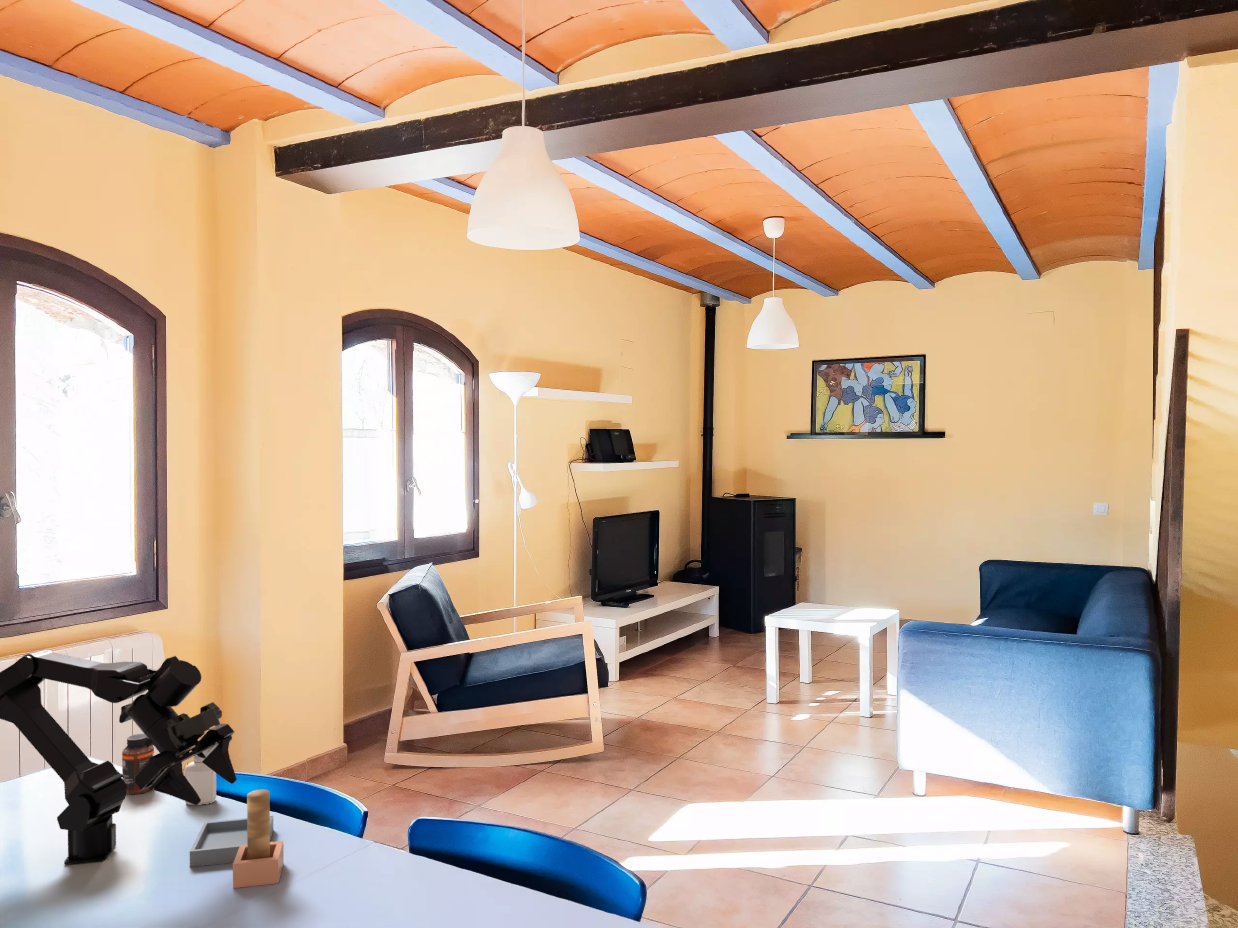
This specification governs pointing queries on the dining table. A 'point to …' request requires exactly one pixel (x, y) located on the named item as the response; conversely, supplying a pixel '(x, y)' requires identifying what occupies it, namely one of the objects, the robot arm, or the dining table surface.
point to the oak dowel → (258, 824)
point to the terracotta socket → (258, 867)
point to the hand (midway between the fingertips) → (217, 792)
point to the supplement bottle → (135, 761)
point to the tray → (220, 842)
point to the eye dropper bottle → (201, 780)
